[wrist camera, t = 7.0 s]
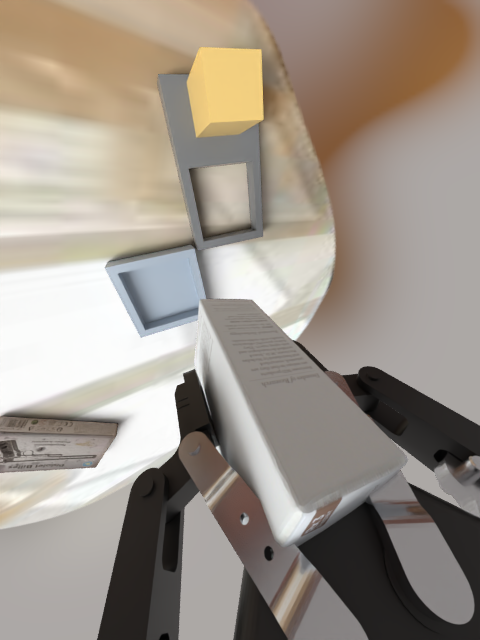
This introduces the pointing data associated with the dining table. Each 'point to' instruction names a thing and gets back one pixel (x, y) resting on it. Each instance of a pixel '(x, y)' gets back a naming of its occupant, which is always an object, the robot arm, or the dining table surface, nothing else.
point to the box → (52, 443)
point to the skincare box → (286, 423)
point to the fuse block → (217, 127)
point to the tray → (159, 288)
